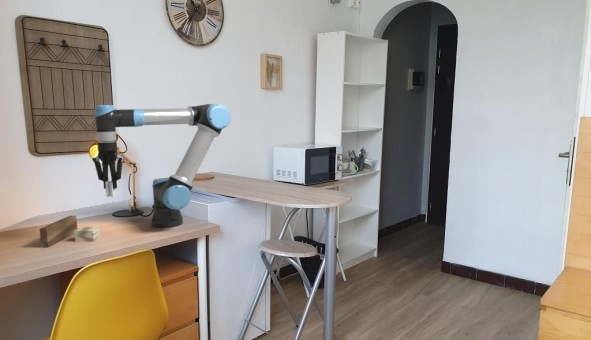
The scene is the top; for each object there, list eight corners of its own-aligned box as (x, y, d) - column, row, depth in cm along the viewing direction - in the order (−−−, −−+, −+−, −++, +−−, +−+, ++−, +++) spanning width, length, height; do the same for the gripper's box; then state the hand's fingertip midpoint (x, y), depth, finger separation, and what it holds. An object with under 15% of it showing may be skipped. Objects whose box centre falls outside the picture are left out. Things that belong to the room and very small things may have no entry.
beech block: (100, 237, 193) (99, 227, 192) (93, 242, 187) (92, 230, 186) (82, 238, 193) (81, 227, 192) (75, 242, 187) (74, 230, 186)
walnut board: (77, 232, 201) (76, 215, 200) (48, 247, 180) (46, 228, 179) (71, 232, 202) (69, 215, 201) (41, 247, 180) (39, 228, 179)
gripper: (127, 140, 186) (131, 194, 190) (95, 141, 187) (99, 194, 191) (119, 142, 179) (123, 198, 182) (85, 142, 180) (90, 198, 183)
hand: (111, 196), depth 186 cm, fingers closed
